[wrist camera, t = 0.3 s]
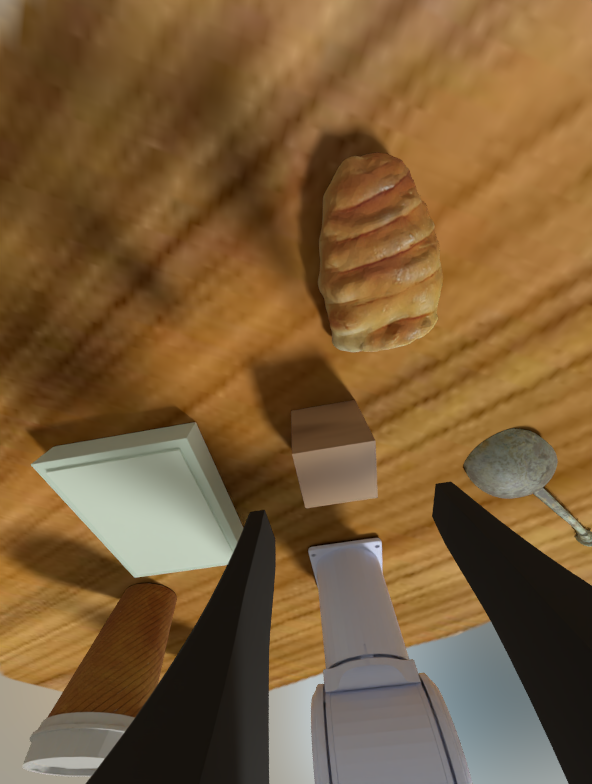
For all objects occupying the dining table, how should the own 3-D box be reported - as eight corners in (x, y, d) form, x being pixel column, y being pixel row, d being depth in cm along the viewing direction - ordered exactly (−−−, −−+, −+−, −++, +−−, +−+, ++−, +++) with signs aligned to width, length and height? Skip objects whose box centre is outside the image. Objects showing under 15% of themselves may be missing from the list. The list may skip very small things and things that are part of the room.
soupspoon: (509, 406, 21) (442, 450, 23) (543, 430, 18) (462, 478, 20) (610, 518, 27) (549, 544, 30) (647, 549, 24) (576, 575, 27)
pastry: (290, 190, 13) (292, 164, 10) (418, 138, 12) (468, 90, 9) (333, 351, 17) (345, 372, 14) (430, 320, 17) (468, 334, 13)
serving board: (249, 542, 27) (246, 564, 25) (144, 557, 27) (133, 579, 25) (195, 422, 19) (185, 439, 17) (53, 446, 20) (27, 466, 18)
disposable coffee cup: (96, 579, 29) (-14, 761, 18) (175, 571, 29) (110, 751, 18) (130, 616, 33) (57, 780, 23) (199, 609, 33) (158, 772, 23)
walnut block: (358, 448, 21) (377, 497, 17) (301, 457, 22) (305, 508, 17) (354, 399, 19) (375, 440, 15) (291, 410, 19) (292, 454, 15)
